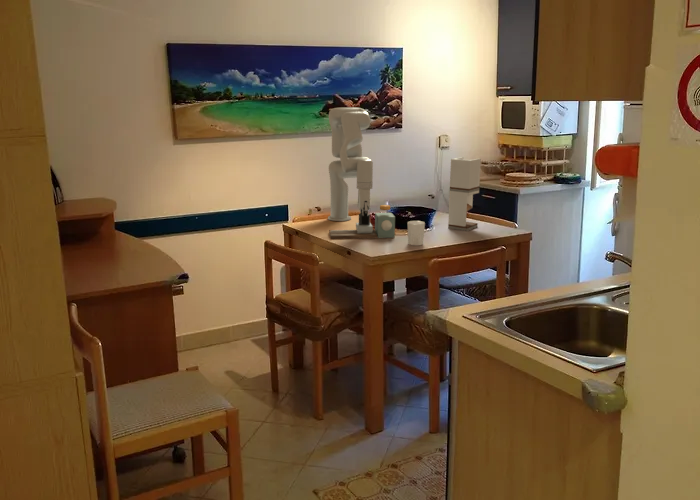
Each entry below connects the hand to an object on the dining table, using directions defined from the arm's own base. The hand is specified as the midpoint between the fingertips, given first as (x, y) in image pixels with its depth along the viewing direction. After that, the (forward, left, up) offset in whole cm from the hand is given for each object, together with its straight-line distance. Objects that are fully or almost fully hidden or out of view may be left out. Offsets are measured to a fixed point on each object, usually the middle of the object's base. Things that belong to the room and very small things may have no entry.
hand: (364, 222), depth 318 cm
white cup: (+19, +22, -7) cm, 29 cm away
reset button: (0, +10, +6) cm, 12 cm away
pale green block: (0, +10, -7) cm, 12 cm away
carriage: (0, 0, -5) cm, 5 cm away
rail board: (0, -5, -7) cm, 9 cm away
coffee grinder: (-14, +53, -7) cm, 55 cm away
